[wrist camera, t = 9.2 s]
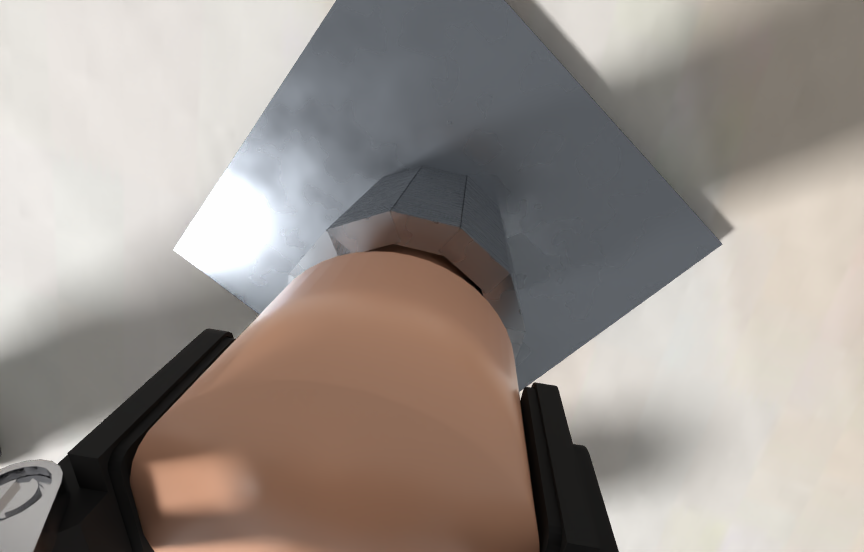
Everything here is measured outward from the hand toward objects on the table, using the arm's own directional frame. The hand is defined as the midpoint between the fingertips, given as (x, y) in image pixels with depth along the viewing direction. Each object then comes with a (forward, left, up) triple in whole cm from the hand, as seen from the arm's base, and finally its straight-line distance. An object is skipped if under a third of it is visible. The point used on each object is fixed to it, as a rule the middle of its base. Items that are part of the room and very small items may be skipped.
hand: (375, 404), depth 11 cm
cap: (0, 0, -7) cm, 7 cm away
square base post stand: (0, 0, -13) cm, 13 cm away
